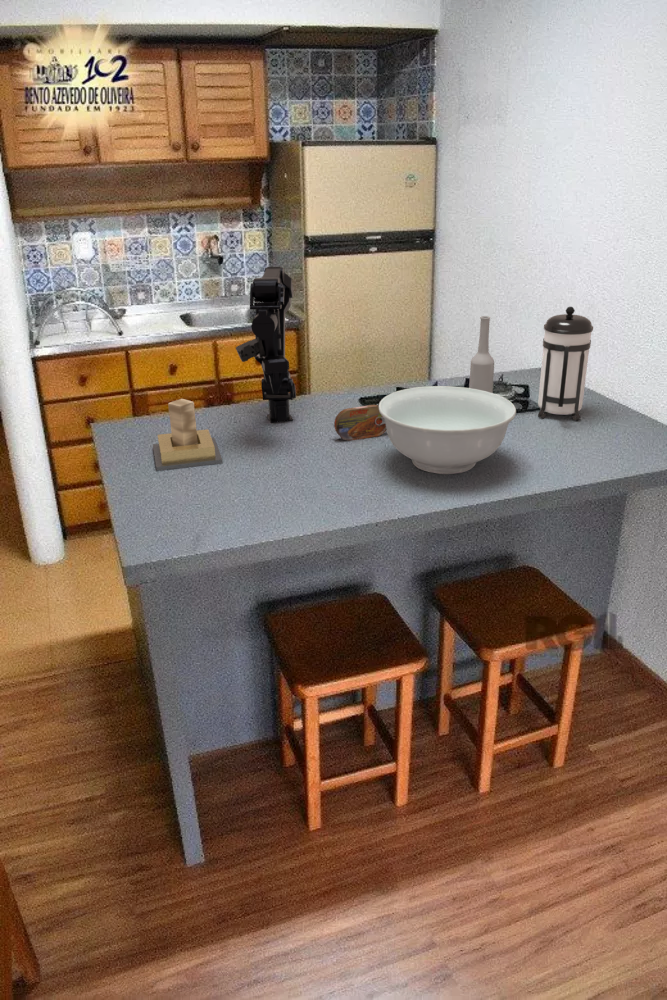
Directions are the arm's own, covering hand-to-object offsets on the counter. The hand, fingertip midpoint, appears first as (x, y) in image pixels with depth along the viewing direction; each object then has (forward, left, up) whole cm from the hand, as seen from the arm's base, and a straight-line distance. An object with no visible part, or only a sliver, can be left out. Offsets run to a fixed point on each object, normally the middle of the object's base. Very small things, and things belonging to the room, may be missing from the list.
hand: (272, 388), depth 203 cm
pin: (+7, -24, -12) cm, 28 cm away
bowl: (+31, +36, -13) cm, 49 cm away
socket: (+7, -24, -13) cm, 28 cm away
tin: (+8, +22, -13) cm, 27 cm away
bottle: (+3, +58, -13) cm, 60 cm away
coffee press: (+9, +80, -13) cm, 82 cm away
